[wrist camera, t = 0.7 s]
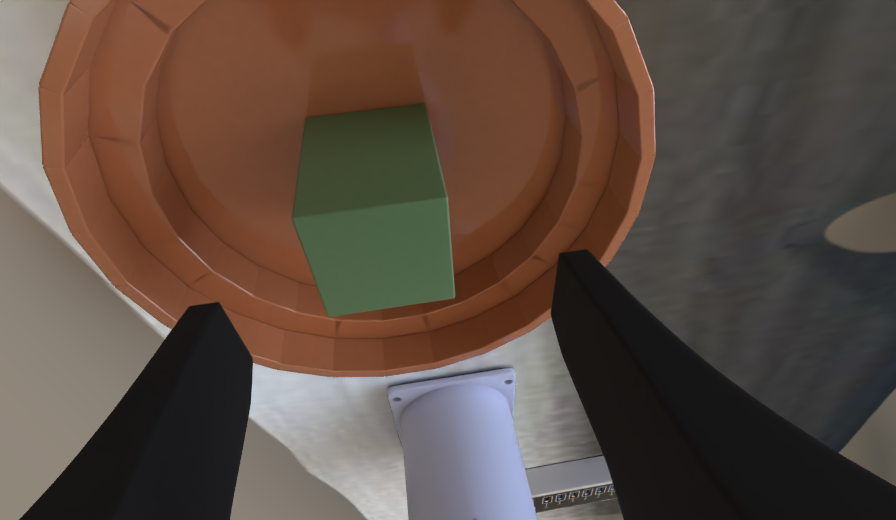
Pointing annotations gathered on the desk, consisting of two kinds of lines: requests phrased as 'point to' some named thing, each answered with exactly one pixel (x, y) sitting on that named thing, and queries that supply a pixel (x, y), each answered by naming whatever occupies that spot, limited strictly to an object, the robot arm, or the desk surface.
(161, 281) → the basin
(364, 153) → the green block
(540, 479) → the multiport hub
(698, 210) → the desk surface
